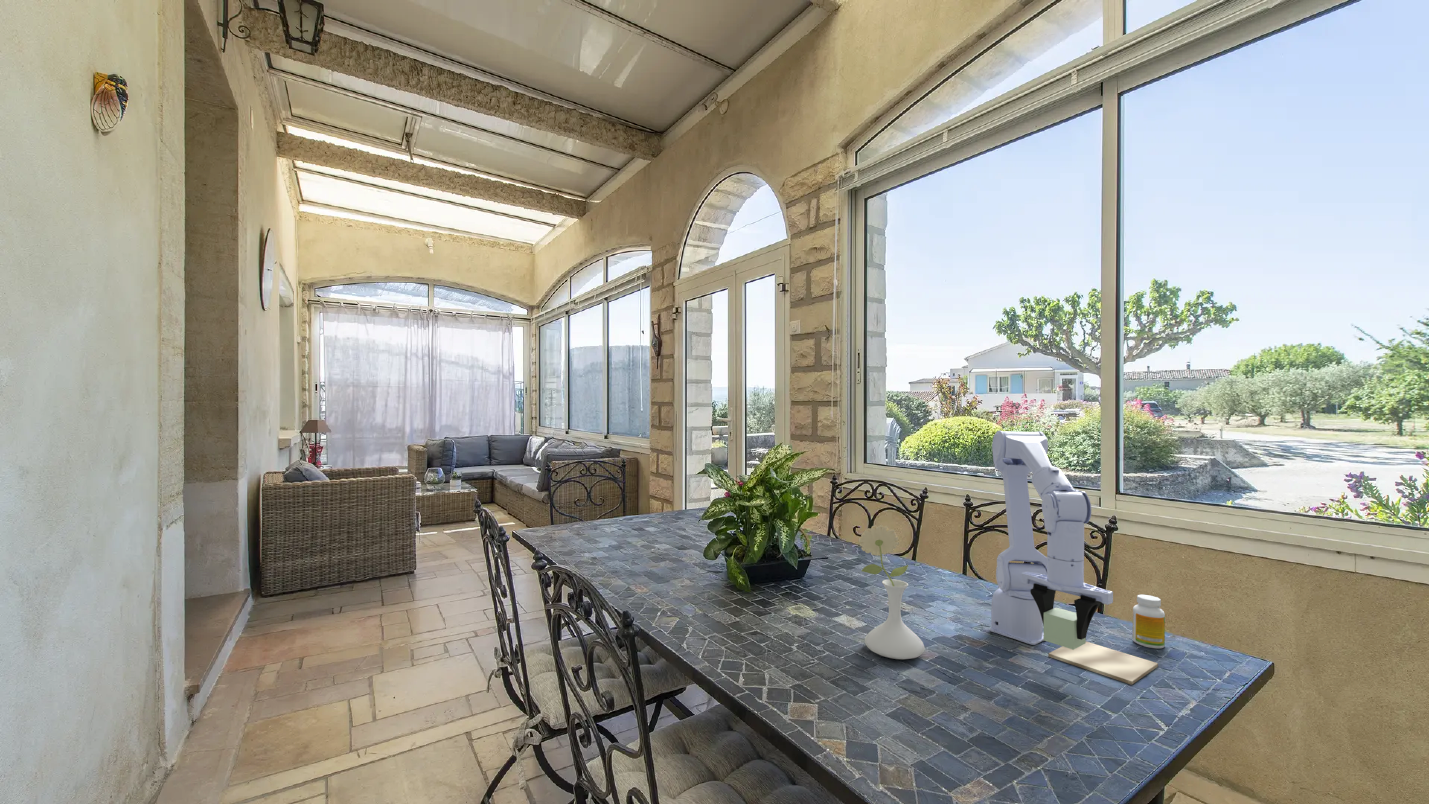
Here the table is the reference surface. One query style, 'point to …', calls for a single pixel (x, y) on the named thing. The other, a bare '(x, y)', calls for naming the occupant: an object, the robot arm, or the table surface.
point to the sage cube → (1061, 628)
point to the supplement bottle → (1149, 622)
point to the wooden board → (1105, 662)
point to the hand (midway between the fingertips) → (1064, 632)
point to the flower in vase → (893, 633)
